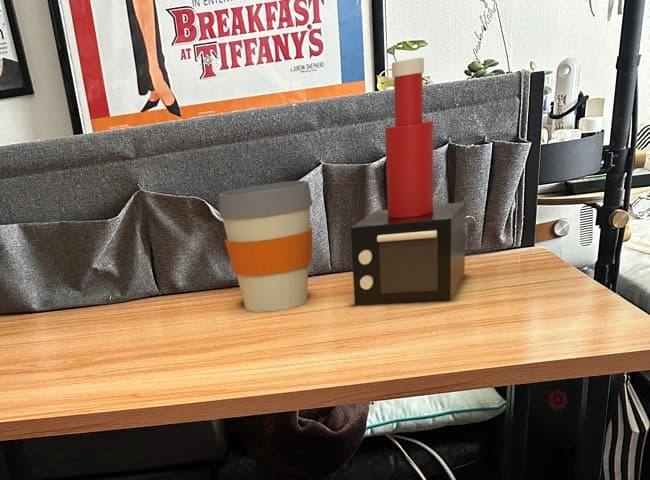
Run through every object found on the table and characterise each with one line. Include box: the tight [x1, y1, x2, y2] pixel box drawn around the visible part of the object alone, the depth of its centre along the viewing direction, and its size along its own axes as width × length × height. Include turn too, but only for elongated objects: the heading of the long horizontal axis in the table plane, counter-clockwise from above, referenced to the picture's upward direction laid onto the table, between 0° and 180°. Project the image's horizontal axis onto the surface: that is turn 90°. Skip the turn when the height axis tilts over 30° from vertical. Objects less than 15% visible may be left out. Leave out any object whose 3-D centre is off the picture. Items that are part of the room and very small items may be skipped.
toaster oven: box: [350, 201, 467, 307], centre depth 94 cm, size 12×15×10 cm
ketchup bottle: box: [384, 57, 434, 218], centre depth 87 cm, size 6×6×16 cm
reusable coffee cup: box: [218, 180, 313, 313], centre depth 99 cm, size 13×13×15 cm
